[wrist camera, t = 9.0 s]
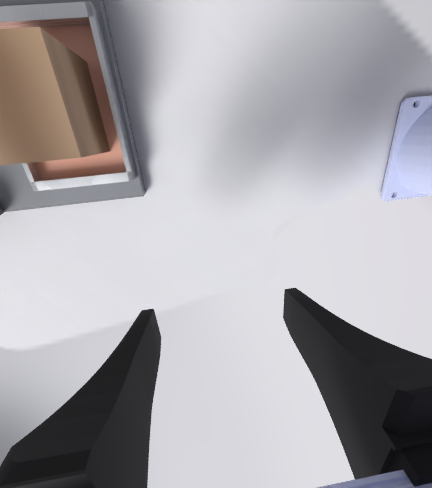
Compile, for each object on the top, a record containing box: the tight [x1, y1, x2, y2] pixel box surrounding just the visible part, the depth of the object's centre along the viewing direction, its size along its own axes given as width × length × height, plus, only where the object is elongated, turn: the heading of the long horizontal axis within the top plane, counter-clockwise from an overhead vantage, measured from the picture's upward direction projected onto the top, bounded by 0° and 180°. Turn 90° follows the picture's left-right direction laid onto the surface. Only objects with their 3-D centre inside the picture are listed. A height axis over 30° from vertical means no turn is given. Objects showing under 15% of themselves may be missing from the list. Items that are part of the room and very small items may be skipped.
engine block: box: [0, 27, 110, 166], centre depth 13 cm, size 4×5×5 cm
